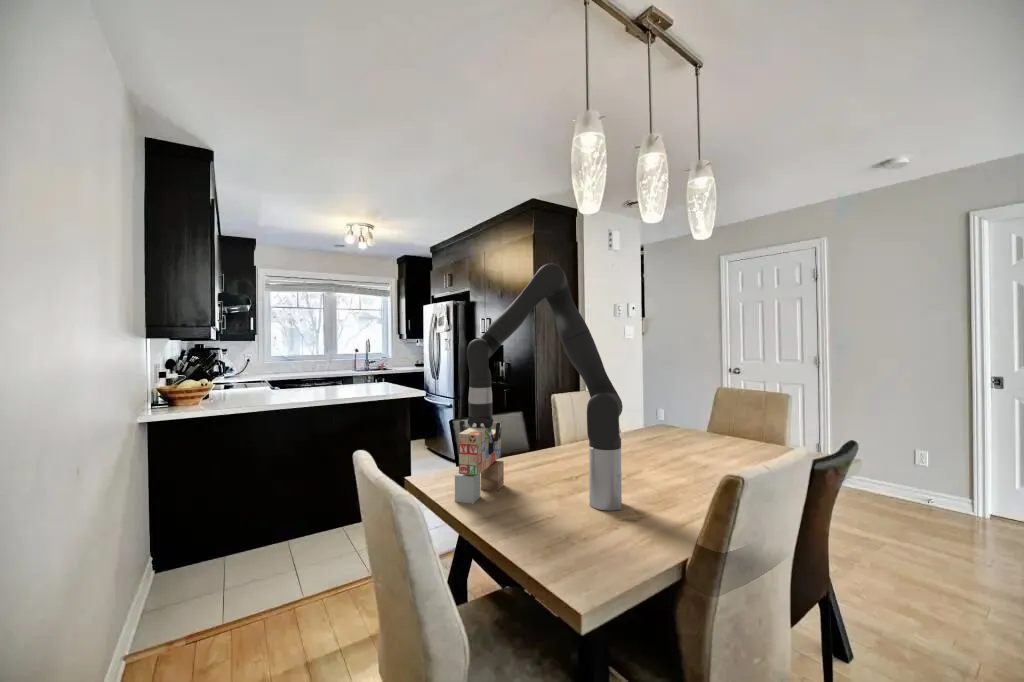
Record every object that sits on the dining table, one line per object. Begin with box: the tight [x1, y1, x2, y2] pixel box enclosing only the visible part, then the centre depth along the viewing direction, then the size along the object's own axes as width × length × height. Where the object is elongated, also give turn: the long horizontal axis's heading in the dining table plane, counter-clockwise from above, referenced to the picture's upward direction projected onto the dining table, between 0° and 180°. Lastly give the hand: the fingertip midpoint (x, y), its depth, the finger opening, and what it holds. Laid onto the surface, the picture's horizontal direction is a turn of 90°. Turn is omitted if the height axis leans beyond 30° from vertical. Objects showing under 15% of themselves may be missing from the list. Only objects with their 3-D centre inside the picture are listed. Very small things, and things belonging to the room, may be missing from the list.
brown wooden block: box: [480, 460, 505, 491], centre depth 139 cm, size 6×6×8 cm
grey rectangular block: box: [454, 471, 481, 504], centre depth 128 cm, size 6×6×8 cm
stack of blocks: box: [458, 426, 502, 476], centre depth 134 cm, size 21×6×12 cm, turn 163°
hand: (480, 453), depth 133 cm, fingers closed on stack of blocks, 6 cm apart
